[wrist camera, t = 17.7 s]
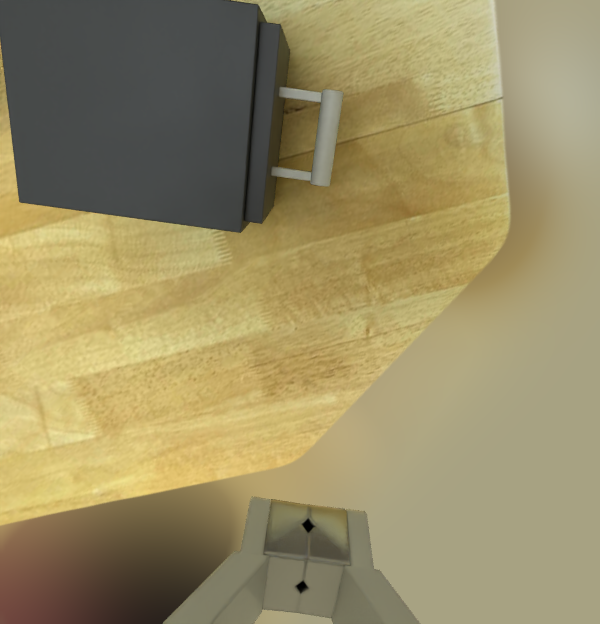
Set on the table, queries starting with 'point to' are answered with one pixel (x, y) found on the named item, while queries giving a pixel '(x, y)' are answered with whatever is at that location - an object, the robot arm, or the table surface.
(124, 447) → the table surface
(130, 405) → the table surface
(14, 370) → the table surface
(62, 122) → the cabinet
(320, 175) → the drawer
